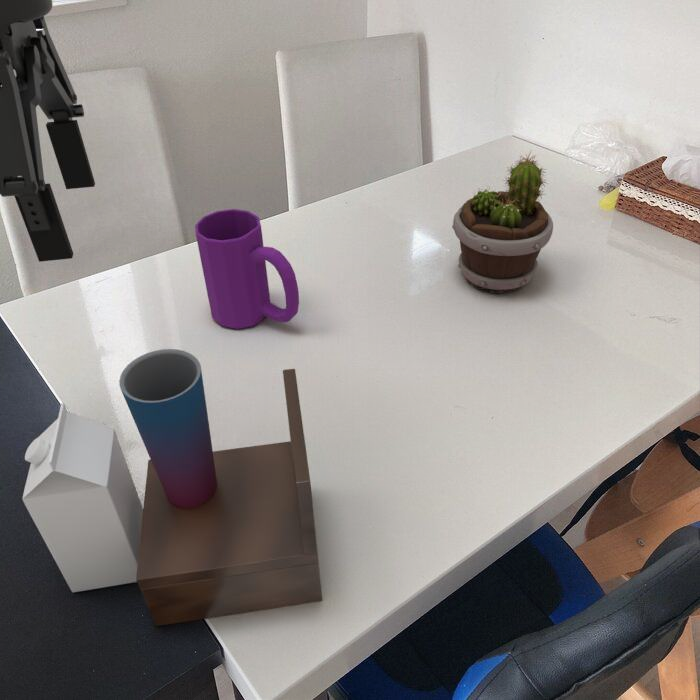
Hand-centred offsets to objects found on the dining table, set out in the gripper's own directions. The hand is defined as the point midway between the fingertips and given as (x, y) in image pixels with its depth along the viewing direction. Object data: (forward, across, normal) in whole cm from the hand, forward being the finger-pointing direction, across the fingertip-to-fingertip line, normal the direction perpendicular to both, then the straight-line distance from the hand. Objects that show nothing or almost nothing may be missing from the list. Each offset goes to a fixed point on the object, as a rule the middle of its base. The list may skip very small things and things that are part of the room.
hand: (69, 219), depth 63 cm
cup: (+23, -14, -8) cm, 28 cm away
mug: (+31, +23, -15) cm, 41 cm away
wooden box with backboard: (+31, -17, -11) cm, 37 cm away
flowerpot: (+31, +27, -53) cm, 67 cm away
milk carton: (+31, -16, +2) cm, 35 cm away
